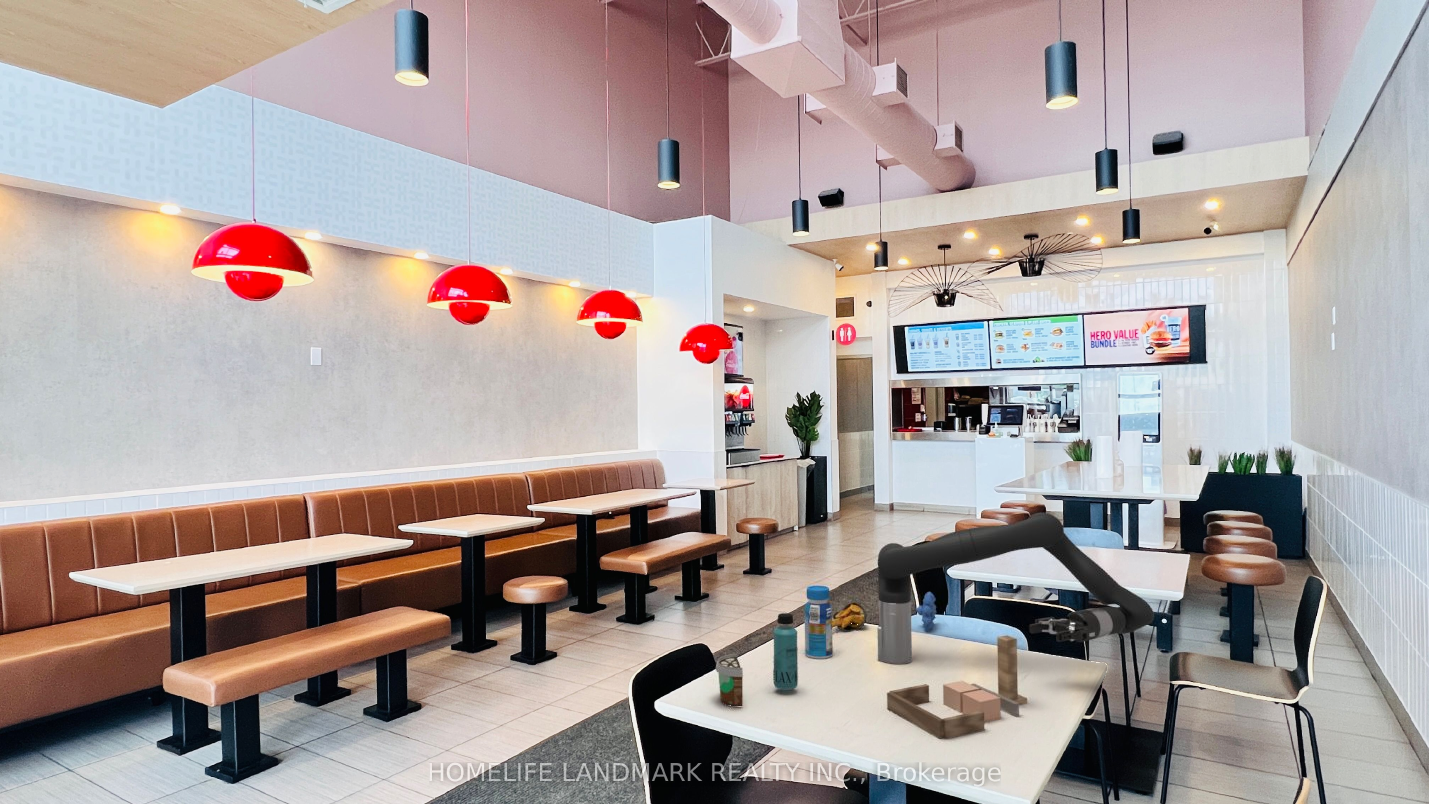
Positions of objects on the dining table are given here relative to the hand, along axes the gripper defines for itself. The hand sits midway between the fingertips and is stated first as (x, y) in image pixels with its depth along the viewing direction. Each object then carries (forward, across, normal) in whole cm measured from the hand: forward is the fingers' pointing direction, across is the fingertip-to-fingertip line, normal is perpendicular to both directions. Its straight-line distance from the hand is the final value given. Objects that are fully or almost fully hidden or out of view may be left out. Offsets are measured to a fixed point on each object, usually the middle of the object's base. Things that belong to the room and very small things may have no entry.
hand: (1043, 633), depth 201 cm
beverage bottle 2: (+33, +54, -15) cm, 65 cm away
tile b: (+24, +4, -16) cm, 29 cm away
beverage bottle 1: (+57, +32, -15) cm, 67 cm away
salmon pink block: (+24, -3, -16) cm, 29 cm away
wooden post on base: (+12, +1, -16) cm, 20 cm away
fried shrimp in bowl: (+12, +72, -15) cm, 75 cm away
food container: (+73, +33, -15) cm, 82 cm away
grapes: (-13, +61, -15) cm, 64 cm away
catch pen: (+34, +1, -15) cm, 37 cm away
